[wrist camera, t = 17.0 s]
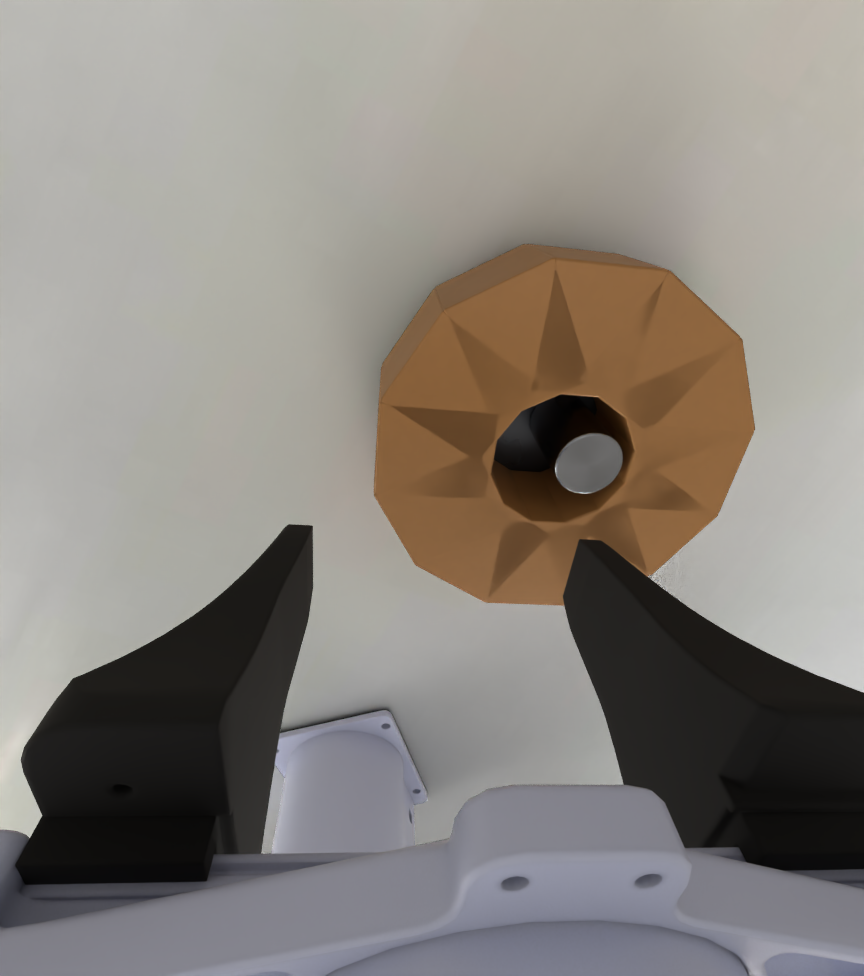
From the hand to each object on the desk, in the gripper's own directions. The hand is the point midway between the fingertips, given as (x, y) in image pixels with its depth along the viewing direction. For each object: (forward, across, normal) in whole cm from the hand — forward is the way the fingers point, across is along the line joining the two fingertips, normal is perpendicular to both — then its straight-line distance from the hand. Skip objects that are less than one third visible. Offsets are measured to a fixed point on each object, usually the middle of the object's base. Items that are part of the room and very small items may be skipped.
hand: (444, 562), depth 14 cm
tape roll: (+9, -4, -1) cm, 10 cm away
